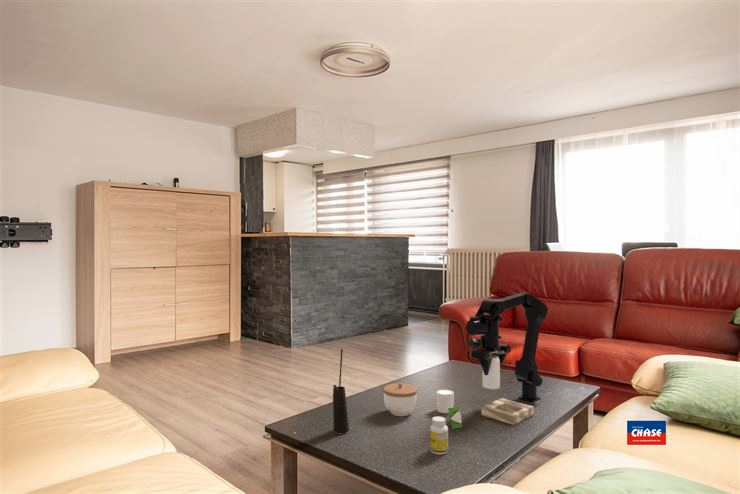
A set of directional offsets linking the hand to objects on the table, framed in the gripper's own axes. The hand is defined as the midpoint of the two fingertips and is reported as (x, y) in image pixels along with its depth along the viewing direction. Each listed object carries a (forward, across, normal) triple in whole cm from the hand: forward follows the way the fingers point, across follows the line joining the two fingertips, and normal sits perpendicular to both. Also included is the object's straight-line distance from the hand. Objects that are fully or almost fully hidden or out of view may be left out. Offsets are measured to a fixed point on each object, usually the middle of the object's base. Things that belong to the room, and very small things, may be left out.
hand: (491, 373), depth 176 cm
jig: (+13, +2, +8) cm, 16 cm away
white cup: (+13, +16, -10) cm, 23 cm away
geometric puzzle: (+13, +26, +3) cm, 29 cm away
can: (+6, 0, 0) cm, 6 cm away
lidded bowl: (+13, +30, -19) cm, 38 cm away
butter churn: (+13, +57, -22) cm, 62 cm away
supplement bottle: (+13, +44, +11) cm, 48 cm away
